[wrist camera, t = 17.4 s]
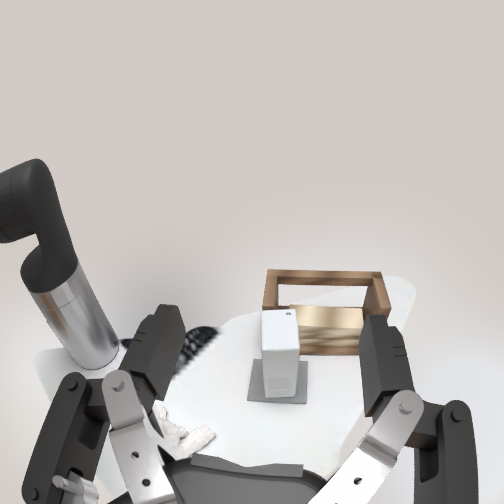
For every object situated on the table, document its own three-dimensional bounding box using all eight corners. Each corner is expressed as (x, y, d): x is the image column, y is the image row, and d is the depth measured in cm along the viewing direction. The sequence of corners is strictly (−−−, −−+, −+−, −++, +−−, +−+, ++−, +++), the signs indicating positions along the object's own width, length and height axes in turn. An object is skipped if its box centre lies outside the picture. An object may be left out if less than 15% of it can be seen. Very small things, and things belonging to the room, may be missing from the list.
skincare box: (263, 364, 41) (260, 308, 34) (292, 362, 41) (296, 307, 34) (264, 399, 36) (260, 350, 29) (295, 398, 36) (301, 348, 29)
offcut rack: (264, 353, 43) (262, 305, 37) (269, 317, 49) (267, 269, 43) (373, 354, 41) (391, 307, 35) (367, 319, 47) (380, 271, 41)
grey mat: (247, 400, 36) (247, 399, 36) (253, 360, 42) (253, 358, 42) (306, 403, 35) (306, 402, 35) (307, 362, 41) (307, 361, 41)
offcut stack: (281, 347, 43) (281, 327, 40) (283, 322, 47) (283, 302, 44) (359, 348, 41) (366, 328, 38) (356, 324, 45) (361, 303, 42)
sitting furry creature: (219, 432, 33) (200, 392, 26) (191, 485, 26) (158, 464, 19) (159, 407, 36) (127, 361, 29) (130, 453, 29) (85, 418, 22)
